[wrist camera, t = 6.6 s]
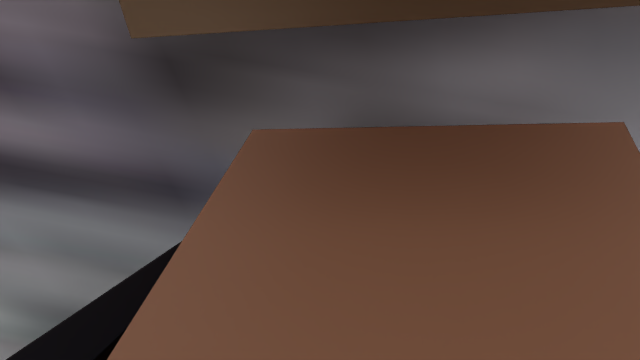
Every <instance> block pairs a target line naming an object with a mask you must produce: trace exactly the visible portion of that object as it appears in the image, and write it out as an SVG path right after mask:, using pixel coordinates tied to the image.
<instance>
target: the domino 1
mask: <svg viewBox="0 0 640 360" xmlns="http://www.w3.org/2000/svg"><path fill="white" fill-rule="evenodd" d="M119 2H120V5H121V8H122V11H123V15H124V18H125V21H126V24H127V27H128V30H129V33H130V36H131V38H146V37H162V36H177V35H193V34H208V33H223V32H239V31H254V30H269V29H285V28H300V27H316V26H331V25H346V24H362V23H377V22H393V21H408V20H423V19H439V18H454V17H470V16H485V15H500V14H516V13H531V12H547V11H562V10H577V9H593V8H608V7H624V6H639V5H640V0H119Z"/></svg>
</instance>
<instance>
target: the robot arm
mask: <svg viewBox="0 0 640 360" xmlns="http://www.w3.org/2000/svg"><path fill="white" fill-rule="evenodd" d="M181 242H182V241H181ZM181 242H180V243H178V244H177V245H175V246H174V247H172V248H171V249H169V250H168V251H166V252H165V253H164V254H162V255H161V256H159V257H158V258H156V259H155V260H153V261H152V262H150V263H149V264H147V265H146V266H144V267H143V268H141V269H140V270H138V271H137V272H135V273H134V274H132V275H131V276H129V277H128V278H126V279H125V280H123V281H122V282H121V283H119V284H118V285H116V286H115V287H113V288H112V289H110V290H109V291H107V292H106V293H104V294H103V295H101V296H100V297H98V298H97V299H95V300H94V301H92V302H91V303H89V304H88V305H86V306H85V307H83V308H82V309H80V310H79V311H77V312H76V313H75V314H73V315H72V316H70V317H69V318H67V319H66V320H64V321H63V322H61V323H60V324H58V325H57V326H55V327H54V328H52V329H51V330H49V331H48V332H46V333H45V334H43V335H42V336H40V337H39V338H37V339H36V340H34V341H33V342H31V343H30V344H28V345H27V346H26V347H24V348H23V349H21V350H20V351H18V352H17V353H15V354H14V355H12V356H11V357H9V358H8V359H6V360H107V359H108V357H109V356H110V354H111V353H112V351H113V349H114V348H115V346H116V345H117V343H118V342H119V340H120V338H121V337H122V335H123V334H124V332H125V331H126V329H127V327H128V326H129V324H130V323H131V321H132V320H133V318H134V316H135V315H136V313H137V312H138V310H139V309H140V307H141V305H142V304H143V302H144V301H145V299H146V297H147V296H148V294H149V293H150V291H151V290H152V288H153V286H154V285H155V283H156V282H157V280H158V279H159V277H160V275H161V274H162V272H163V271H164V269H165V268H166V266H167V264H168V263H169V261H170V260H171V258H172V256H173V255H174V253H175V252H176V250H177V249H178V247H179V245H180V244H181Z"/></svg>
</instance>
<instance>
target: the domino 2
mask: <svg viewBox="0 0 640 360" xmlns="http://www.w3.org/2000/svg"><path fill="white" fill-rule="evenodd" d="M107 360H640V153H639V151H638V149H637V147H636V145H635V143H634V141H633V139H632V137H631V135H630V133H629V131H628V129H627V127H626V125H625V123H624V122H607V123H558V124H508V125H459V126H409V127H360V128H310V129H261V130H252V132H251V133H250V135H249V137H248V138H247V140H246V141H245V143H244V145H243V146H242V148H241V149H240V151H239V152H238V154H237V156H236V157H235V159H234V160H233V162H232V163H231V165H230V167H229V168H228V170H227V171H226V173H225V174H224V176H223V178H222V179H221V181H220V182H219V184H218V186H217V187H216V189H215V190H214V192H213V193H212V195H211V197H210V198H209V200H208V201H207V203H206V204H205V206H204V208H203V209H202V211H201V212H200V214H199V215H198V217H197V219H196V220H195V222H194V223H193V225H192V227H191V228H190V230H189V231H188V233H187V234H186V236H185V238H184V239H183V241H182V242H181V244H180V245H179V247H178V249H177V250H176V252H175V253H174V255H173V256H172V258H171V260H170V261H169V263H168V264H167V266H166V268H165V269H164V271H163V272H162V274H161V275H160V277H159V279H158V280H157V282H156V283H155V285H154V286H153V288H152V290H151V291H150V293H149V294H148V296H147V297H146V299H145V301H144V302H143V304H142V305H141V307H140V309H139V310H138V312H137V313H136V315H135V316H134V318H133V320H132V321H131V323H130V324H129V326H128V327H127V329H126V331H125V332H124V334H123V335H122V337H121V338H120V340H119V342H118V343H117V345H116V346H115V348H114V349H113V351H112V353H111V354H110V356H109V357H108V359H107Z"/></svg>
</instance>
